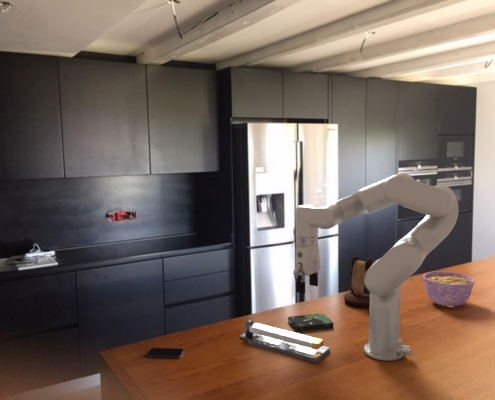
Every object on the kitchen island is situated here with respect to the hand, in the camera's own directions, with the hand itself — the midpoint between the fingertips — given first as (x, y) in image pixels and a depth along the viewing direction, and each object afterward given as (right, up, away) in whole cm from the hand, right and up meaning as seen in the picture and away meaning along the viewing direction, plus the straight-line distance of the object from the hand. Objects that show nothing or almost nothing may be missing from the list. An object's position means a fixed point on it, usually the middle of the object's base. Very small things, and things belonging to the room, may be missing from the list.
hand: (307, 289), depth 164 cm
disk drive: (+3, -17, +15) cm, 23 cm away
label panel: (-9, -19, -3) cm, 21 cm away
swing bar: (-9, -18, -3) cm, 20 cm away
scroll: (+28, -13, +38) cm, 50 cm away
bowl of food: (+64, -13, +35) cm, 74 cm away
